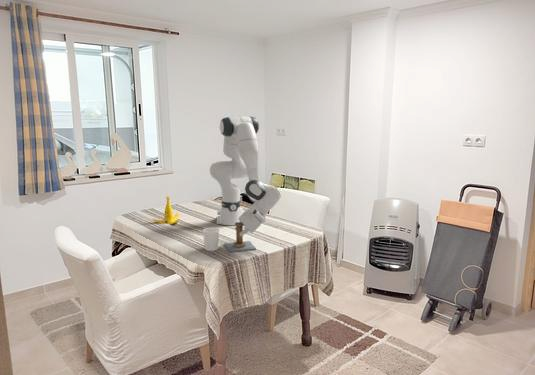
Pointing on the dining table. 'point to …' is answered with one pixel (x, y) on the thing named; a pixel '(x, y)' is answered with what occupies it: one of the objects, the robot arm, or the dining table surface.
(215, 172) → the robot arm
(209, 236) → the white cup
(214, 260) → the dining table surface
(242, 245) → the brown post
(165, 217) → the banana peel
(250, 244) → the gray book
